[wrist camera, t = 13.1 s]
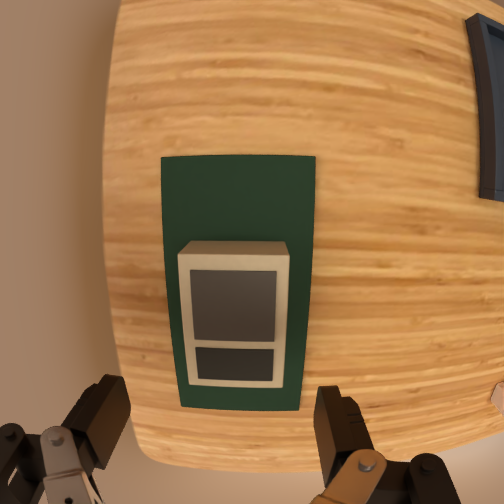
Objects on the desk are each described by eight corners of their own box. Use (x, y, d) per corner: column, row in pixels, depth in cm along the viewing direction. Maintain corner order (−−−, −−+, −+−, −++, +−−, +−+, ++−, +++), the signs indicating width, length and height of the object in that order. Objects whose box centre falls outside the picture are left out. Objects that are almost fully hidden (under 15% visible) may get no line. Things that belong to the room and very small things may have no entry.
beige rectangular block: (190, 240, 21) (176, 254, 17) (285, 241, 21) (290, 255, 17) (198, 356, 23) (188, 386, 20) (280, 359, 23) (282, 389, 19)
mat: (162, 157, 20) (160, 157, 20) (314, 156, 20) (315, 156, 19) (181, 403, 25) (181, 406, 25) (298, 407, 25) (298, 410, 24)
